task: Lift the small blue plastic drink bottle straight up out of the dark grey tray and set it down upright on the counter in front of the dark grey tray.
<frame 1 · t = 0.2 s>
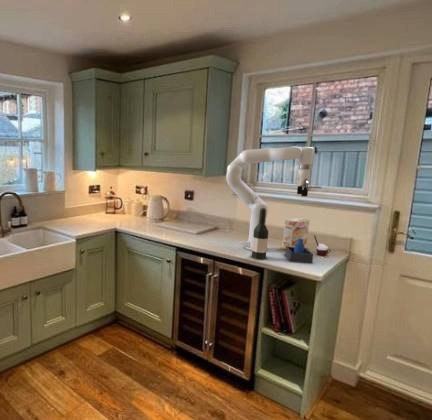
hand: (301, 195, 222), 36 cm above the worktop, tool pointing down, fingers open, 9 cm apart
wine bottle: (258, 257, 215), on the worktop
dark grey tray: (298, 258, 215), on the worktop
cocoa: (320, 254, 224), on the worktop
coffeecake box: (294, 248, 236), on the worktop
bottle: (299, 248, 214), in the dark grey tray
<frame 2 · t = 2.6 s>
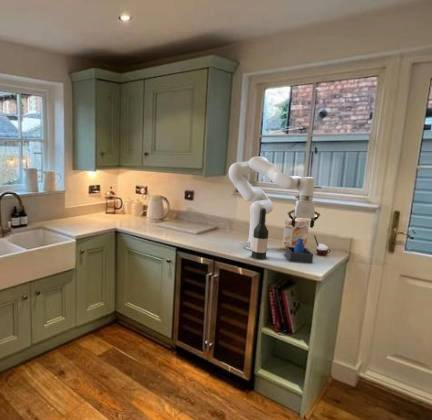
hand: (302, 227, 211), 19 cm above the worktop, tool pointing down, fingers open, 9 cm apart
nothing on the worktop moved.
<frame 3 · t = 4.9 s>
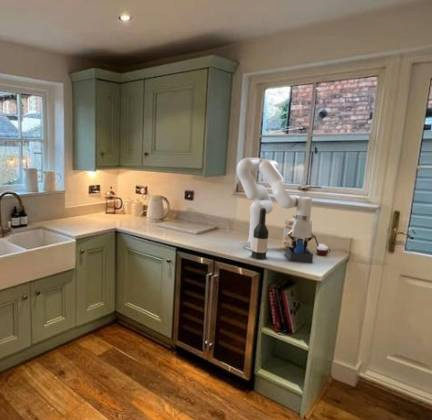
hand: (299, 247, 214), 7 cm above the worktop, tool pointing down, fingers closed on bottle, 5 cm apart
bottle: (299, 248, 214), in the dark grey tray, touching gripper
everything else where it was.
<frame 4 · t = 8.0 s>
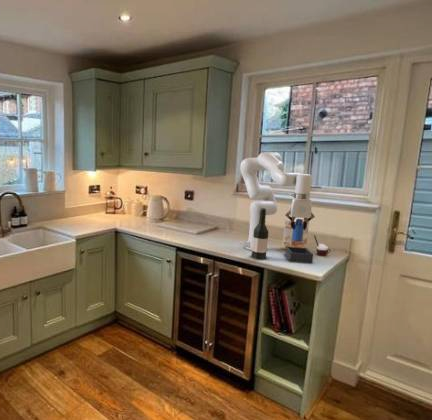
hand: (298, 228, 200), 21 cm above the worktop, tool pointing down, fingers closed on bottle, 5 cm apart
bottle: (298, 229, 200), point 20 cm above the worktop, touching gripper
everything else where it was.
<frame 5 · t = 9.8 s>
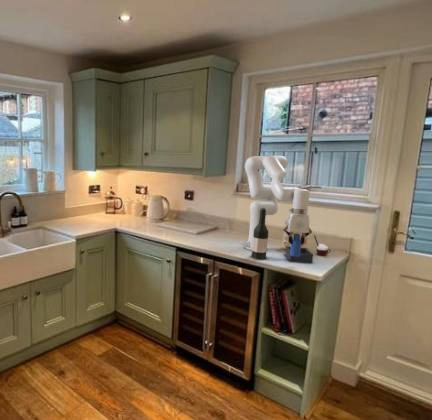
hand: (296, 243, 199), 13 cm above the worktop, tool pointing down, fingers closed on bottle, 5 cm apart
bottle: (295, 244, 199), point 12 cm above the worktop, touching gripper
everything else where it was.
when the fingers open (7 cm above the worktop, at t = 11.6 s): bottle stays where it is, on the worktop.
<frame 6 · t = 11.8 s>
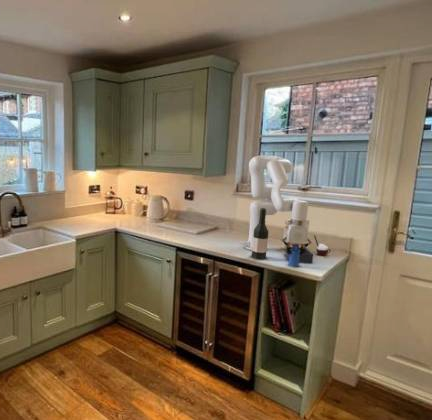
hand: (294, 253, 201), 7 cm above the worktop, tool pointing down, fingers open, 5 cm apart
bottle: (294, 255, 201), on the worktop
everything else where it was.
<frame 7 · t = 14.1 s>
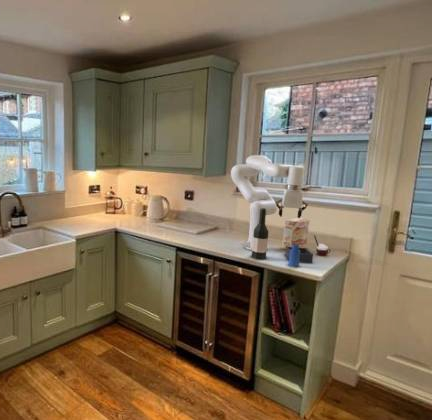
hand: (289, 216, 208), 26 cm above the worktop, tool pointing down, fingers open, 9 cm apart
nothing on the worktop moved.
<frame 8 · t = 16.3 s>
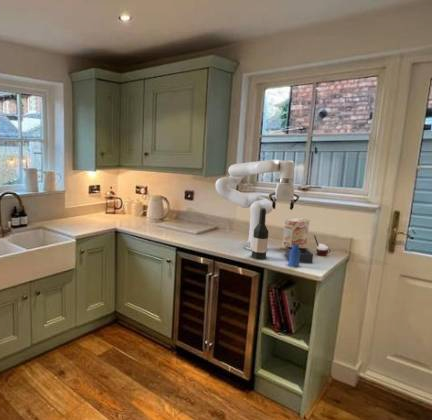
hand: (282, 209, 219), 28 cm above the worktop, tool pointing down, fingers open, 9 cm apart
nothing on the worktop moved.
at the end: bottle inside the target area (0.1 cm from its centre), on the worktop; bottle touching worktop; bottle tilted 0° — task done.
